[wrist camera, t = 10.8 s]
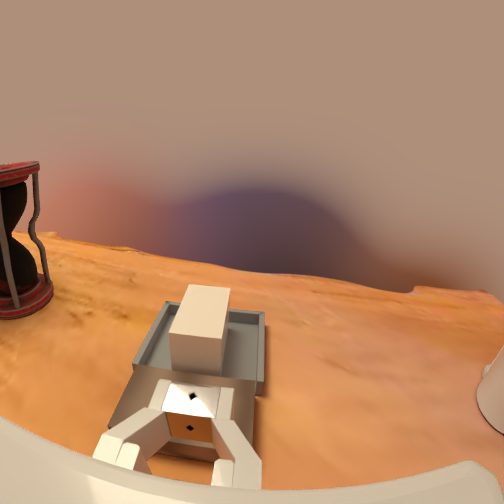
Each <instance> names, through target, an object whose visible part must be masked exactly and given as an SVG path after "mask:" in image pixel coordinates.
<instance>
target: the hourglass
mask: <svg viewBox="0 0 504 504" xmlns="http://www.w3.org/2000/svg"><path fill="white" fill-rule="evenodd" d="M39 170H40V166H39V162H38V161H33V162H32V161H31V162H21V163H14V164H7V165H4V164H3V165H0V319H13V318H19V317H23V316H26V315H28V314H31V313H33V312H35V311H37V310H39V309H40V308H42V307H43V306H44V305H45V304H46V303H48V302H49V301H50V299H51V297H52V295H53V284H52V281H51V280H50V277H49V271H48V266H47V260H46V253H45V248H44V246H43V244H42V242H41V241H40V240H39V239H38V238H37V236H36V233H35V222H36V220H37V218H38V216H39V212H40V201H39V186H38V171H39ZM30 174H32V179H33V198H34V213H33V217H32V219H31V220H30V222H29V228H28V233H29V236H30V238H31V240H32V241H33V242H34V243H35V244H36V245H37V247H38V248H39V250H40V257H41V262H42V268H43V273H44V274H40V273H38V272H37V267H36V263H35V260H34V258H33V256H32V255H31V253H30V252H29V250H28V249H26V248H25V247H24V246H23V245H22V244H21V243H19V242H18V241H17V240H16V239H14V238H13V237H12V234H11V233H12V231H13V230H14V228H15V226H16V225H17V223H18V221H19V220H20V218H21V216H22V214H23V212H24V210H25V206H26V203H27V187H26V183H25V182H24V181H25V180H27V178H28V177H29V175H30Z"/></svg>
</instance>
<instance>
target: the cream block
mask: <svg viewBox="0 0 504 504" xmlns="http://www.w3.org/2000/svg"><path fill="white" fill-rule="evenodd" d="M230 290H231V288H223V287H212V286H202V285H192V284H189V286H188V289H187V291H186V293H185V295H184V298H183V300H182V302H181V304H180V307H179V309H178V311H177V314H176V316H175V318H174V321H173V323H172V325H171V328H170V330H169V332H168V334H169V346H170V357H171V367H172V370H174V371H181V372H187V373H194V374H201V375H209V376H217V377H221V373H222V367H223V360H224V353H225V346H226V340H227V333H228V324H229V306H230Z"/></svg>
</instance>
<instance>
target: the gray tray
mask: <svg viewBox="0 0 504 504" xmlns="http://www.w3.org/2000/svg"><path fill="white" fill-rule="evenodd" d="M180 304H181V303H177V302H169V301H166V302H165V304H164V305H163V307H162V309H161V311H160V312H159V314H158V316H157V318H156V320H155V321H154V323H153V325H152V327H151V329H150V331H149V332H148V334H147V336H146V338H145V340H144V342H143V343H142V345H141V347H140V349H139V351H138V353H137V355H136V356H135V358H134V360H133V362H132V366H133V371H134V370H135V368H136V366H137V364H141V365H146V366H152V367H157V368H163V369H168V370H172V367H171V357H170V346H169V334H168V332H169V330H170V328H171V325H172V323H173V321H174V318H175V316H176V314H177V311H178V309H179V307H180ZM264 335H265V312H259V311H249V310H238V309H229V324H228V333H227V340H226V346H225V353H224V360H223V367H222V373H221V377H225V378H234V379H245V380H255V395H262V390H263V384H264Z"/></svg>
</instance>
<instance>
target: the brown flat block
mask: <svg viewBox="0 0 504 504" xmlns="http://www.w3.org/2000/svg"><path fill="white" fill-rule="evenodd" d="M160 379H165V380H170V381H177V382H183V383H189V384H195V385H206V386H216V387H226V388H234V389H235V393H234V416H233V420H234V421H235V423H236V424H237V426H238V427H239V429H240V430H241V432H242V433H243V435H244V436H245V438H246V439H247V441H248V442H249V444H250V445H251V447H252V440H253V421H254V401H255V380H245V379H234V378H225V377H217V376H209V375H201V374H194V373H187V372H181V371H174V370H168V369H163V368H157V367H152V366H146V365H141V364H137V366H136V368H135V370H134V372H133V374H132V376H131V378H130V380H129V382H128V384H127V386H126V388H125V390H124V392H123V395H122V397H121V399H120V401H119V403H118V405H117V407H116V409H115V411H114V413H113V415H112V418H111V420H110V422H109V424H108V428H109V430H110V429H111V428H113V427H115V426H116V425H118V424H119V423H121V422H122V421H124V420H126V419H127V418H129V417H130V416H132V415H133V414H135V413H136V412H138V411H139V410H141V409H142V408H144V407H146V408H148V406H149V403H150V401H151V398H152V396H153V393H154V391H155V388H156V385H157V383H158V381H159V380H160ZM156 453H161V454H165V455H170V456H176V457H181V458H187V459H193V460H199V461H206V462H213V463H215V461H217V460H218V459H220V457H219V455H218V453H217V451H216V449H215V447H214V445H213V443H207V442H201V441H195V440H188V439H181V438H174V437H171V439H170V440H169V441H168V442H167V443H166V444H165V445H164V446H162V447H161V448H160V449H159V450H158V451H157V452H156Z"/></svg>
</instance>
